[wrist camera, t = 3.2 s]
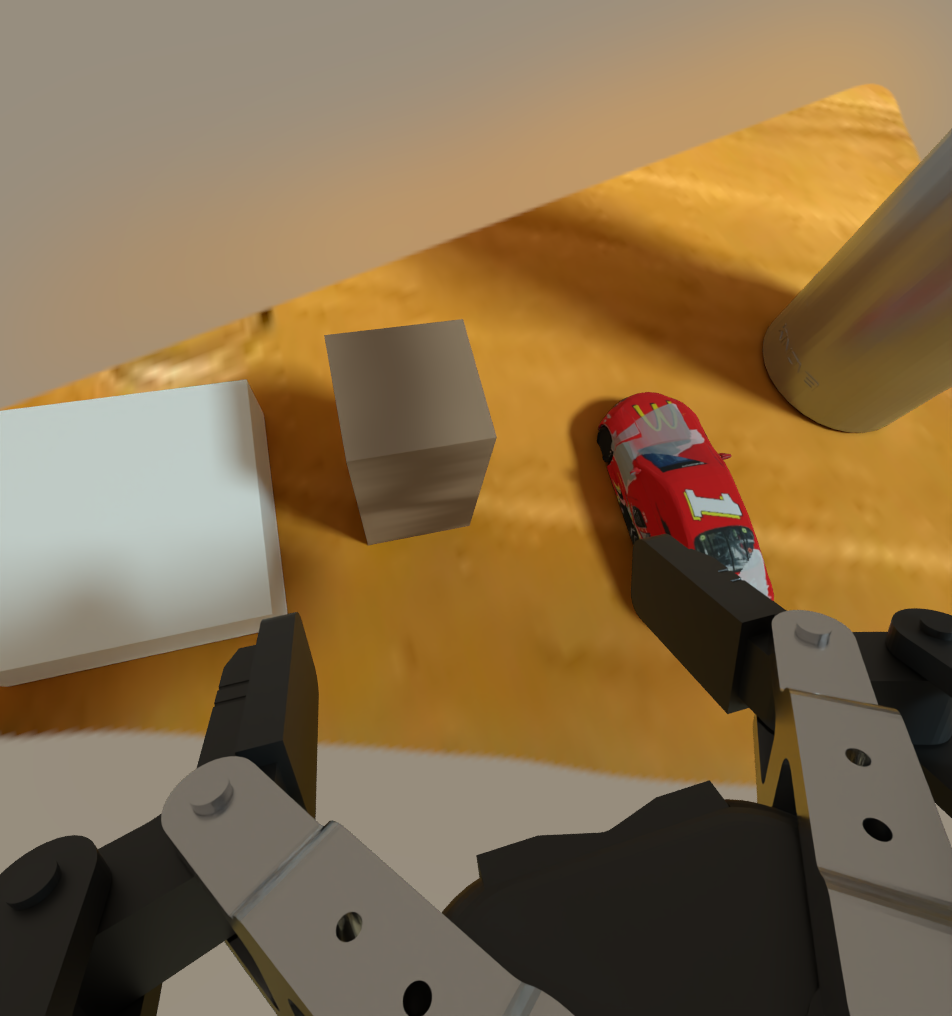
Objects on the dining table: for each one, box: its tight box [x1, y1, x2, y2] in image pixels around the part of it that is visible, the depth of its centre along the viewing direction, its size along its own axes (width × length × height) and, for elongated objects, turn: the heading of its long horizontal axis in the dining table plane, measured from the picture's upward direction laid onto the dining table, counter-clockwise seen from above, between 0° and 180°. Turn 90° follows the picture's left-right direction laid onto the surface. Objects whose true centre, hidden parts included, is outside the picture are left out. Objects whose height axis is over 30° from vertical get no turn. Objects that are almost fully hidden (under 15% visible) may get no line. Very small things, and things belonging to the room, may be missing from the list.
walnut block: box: [324, 319, 497, 545], centre depth 22 cm, size 5×5×9 cm
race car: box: [597, 392, 774, 601], centre depth 26 cm, size 13×5×4 cm, turn 11°
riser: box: [0, 380, 288, 687], centre depth 23 cm, size 11×11×3 cm
